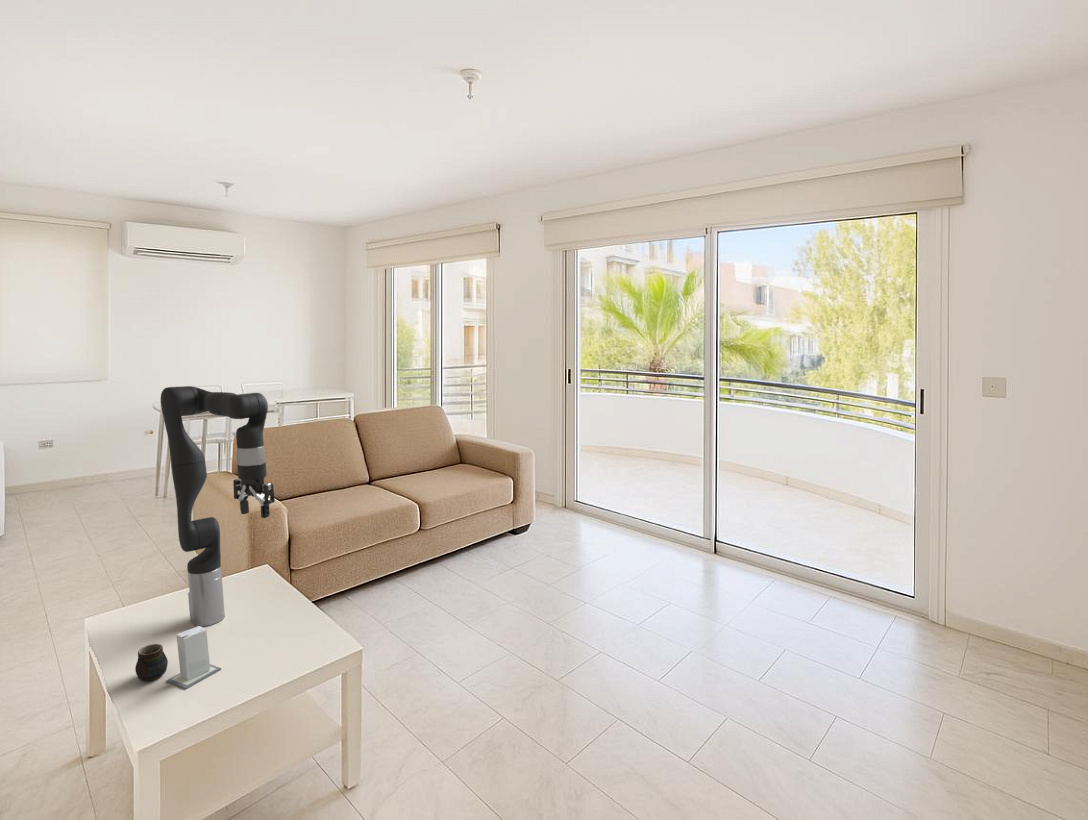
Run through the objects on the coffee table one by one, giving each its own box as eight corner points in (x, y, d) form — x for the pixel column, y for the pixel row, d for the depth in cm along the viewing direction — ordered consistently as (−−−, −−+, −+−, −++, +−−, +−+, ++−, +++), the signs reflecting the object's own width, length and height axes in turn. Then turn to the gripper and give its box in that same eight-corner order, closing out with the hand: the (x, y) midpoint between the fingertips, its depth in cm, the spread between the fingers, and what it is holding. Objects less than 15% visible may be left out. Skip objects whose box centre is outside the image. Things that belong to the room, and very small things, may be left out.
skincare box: (203, 665, 164) (199, 624, 162) (211, 671, 162) (207, 629, 160) (179, 676, 159) (175, 633, 157) (187, 682, 157) (183, 638, 155)
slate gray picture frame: (166, 681, 157) (166, 679, 157) (201, 662, 166) (201, 661, 166) (186, 689, 154) (185, 687, 154) (221, 669, 163) (221, 667, 163)
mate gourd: (163, 665, 165) (160, 632, 164) (173, 676, 160) (170, 641, 159) (132, 677, 160) (129, 642, 158) (142, 688, 155) (139, 652, 153)
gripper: (223, 462, 173) (227, 515, 175) (257, 466, 167) (261, 522, 169) (245, 457, 180) (249, 508, 182) (279, 461, 174) (282, 515, 176)
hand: (255, 515), depth 176 cm, fingers open, 8 cm apart
